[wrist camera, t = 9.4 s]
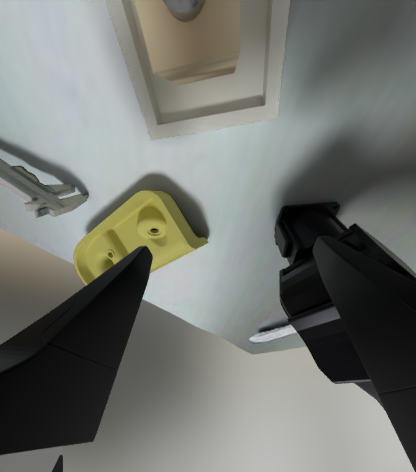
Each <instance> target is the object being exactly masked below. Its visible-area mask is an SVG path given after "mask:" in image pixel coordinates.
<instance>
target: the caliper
mask: <svg viewBox="0 0 416 472" xmlns="http://www.w3.org/2000/svg"><path fill="white" fill-rule="evenodd" d="M0 184H2V185H4V186H5V187H7V188H8V189H10V190H11V191H13V192H14V193H16V194H17V195H19V196H20V197H22V198H23V199H25V200H26V201H28V202H27V203H24V207H25V211H35V213H36V218H38V217H41V216H44V215H47V214H50V215H51V216H53V217H55V216H58V215H61V214H64V213H67V212H70V211H72V210H74V209H75V208H77V207H78V206H80V205H81V204H83V203H84V202H86V201H87V197H88V194H87V193H86V192H85V193H82V194H78V195H74V196H71V197H67V198H63V199H59V198H58V197H61V196H64V195H68V194H70V193H73V192H75V186H74V185H72V184H61V185H43V184H42V183H40V182H39V180H38V179H37V177H36V176H35V175H34V174H32V173H30V172H28V171H27V170H26V169H25V168H24V167H22V166H10V165H9V164H7V163H6V162H4V161H3V160H1V159H0Z"/></svg>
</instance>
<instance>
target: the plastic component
mask: <svg viewBox="0 0 416 472" xmlns="http://www.w3.org/2000/svg"><path fill="white" fill-rule="evenodd" d="M152 228H156V229H158V230H152ZM207 243H208V241H207V240H206V238H204V237H201V238H198V237H197V236H196V235H195V234H194V233H193V231H192V230H191V228H190V226H189V225H188V223H187V221H186V220H185V218H184V216H183V215H182V213H181V211H180V210H179V208H178V206H177V205H176V203H175V201H174V200H173V198H172V197H171V196H170V195H169V194H167V193H165V192H163V191H146V190H143V191H139V192H137V193H136V194H135V195H133V196H132V197H131V198H130V199H129V200H127V201H126V202H125V203H124V204H123V205H121V206H120V207H119V208H118V209H117V210H116V211H114V212H113V213H112V214H111V215H110V216H108V217H107V218H106V219H105V220H104V221H102V222H101V223H100V224H99V225H98V226H97V227H95V228H94V229H93V230H92V231H91V232H89V233H88V234H87V235H86V236H85V237H84V238H83V239H82V240H81V241H80V242H79V243H78V244H77V246H76V248H75V250H74V255H73V259H74V265H75V268H76V271H77V273H78V275H79V276H80V278H81V280H82V281H83V282H84V284H85V285H88V284H89V283H90V282H92V281H93V280H94V279H96V278H97V277H98V276H100V275H101V274H102V273H104V272H105V271H107V270H108V269H109V268H111V267H112V266H113V265H115V264H116V263H117V262H119V261H120V260H121V259H123V258H124V257H125V256H127V255H128V254H130V253H131V252H132V251H134V250H135V249H136V248H138V247H139V246H147V247H148V248H149V250H150V252H151V253H152V255H153V261H152V265H151V270H150V273H151V272H153V271H155V270H157V269H159V268H161V267H163V266H165V265H166V264H168V263H170V262H172V261H174V260H176V259H178V258H180V257H182V256H184V255H186V254H188V253H190V252H192V251H193V250H195V249H197V248H199V247H201V246H203V245H205V244H207Z"/></svg>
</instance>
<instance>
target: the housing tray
mask: <svg viewBox="0 0 416 472" xmlns="http://www.w3.org/2000/svg"><path fill="white" fill-rule="evenodd" d="M106 3H107V6H108V9H109V12H110V15H111V18H112V21H113V25H114V28H115V31H116V34H117V37H118V40H119V43H120V46H121V49H122V52H123V55H124V58H125V61H126V64H127V67H128V70H129V73H130V76H131V79H132V83H133V86H134V89H135V92H136V95H137V98H138V101H139V104H140V107H141V110H142V113H143V116H144V119H145V122H146V125H147V128H148V131H149V134H150V138H151V140H156V139H162V138H168V137H174V136H179V135H185V134H191V133H197V132H203V131H209V130H215V129H221V128H227V127H233V126H239V125H244V124H250V123H256V122H262V121H268V120H274V119H277V114H278V105H279V97H280V88H281V79H282V70H283V61H284V52H285V43H286V35H287V26H288V17H289V8H290V0H240V54H239V58H238V62H237V65H236V69H235V72H234V73H232V74H228V75H223V76H219V77H215V78H210V79H206V80H201V81H197V82H192V83H188V84H184V85H177V84H175V83H173V82H171V81H169V80H167V79H165V78H163V77H161V76H159V75H156V74H154V73H153V70H152V66H151V62H150V59H149V55H148V51H147V47H146V43H145V39H144V36H143V32H142V28H141V24H140V20H139V16H138V13H137V9H136V5H135V1H134V0H106Z"/></svg>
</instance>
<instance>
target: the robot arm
mask: <svg viewBox="0 0 416 472" xmlns="http://www.w3.org/2000/svg"><path fill="white" fill-rule="evenodd" d="M334 206H335V207H334ZM339 208H340V204H338V203H337V202H329V203H317V204H305V205H293V206H284V207H283V208H282V209H281V213H280V219H279V221H278V222H277V224H276V230H275V236H274V237H275V239H276V241H275V243H276V245H278V247H279V250H280V252H281V255H282V257H284V258H287V259H288V262H289V264H290V266H288V267H287V268H285V269H282V270H280V302H281V305H282V307H283V309H284V311H285V313H286V315H287V316H288V317H289V318H288V322H289V323H290V324H291V325H292V326H293V327H294V329H295V330H296V331H297V332H298V334H299V335H300V336H301V338H302V339H303V341H304V342H305V344H306V346H307V347H308V349H309V351H310V353H311V355H312V357H313V359H314V360H315V362H316V364H317V366H318V368H319V369H320V370H321V371H322V372H323V373H324V374H325V375H326V376H327V377H328V378H329V379H330V380H331V381H332V382H333V383H335V384H341V383H355V384H356V385H358V386H359V387H360V388H362V389H363V390H364V391H366V392H367V393H368V394H370V395H371V396H372V397H374V398H375V399H376V400H377V401H378V402H379V403H380V405H381V406H382V407H383V408H384V410H385V411H386V413H387V415H388V417H389V419H390V421H391V423H392V425H393V427H394V429H395V431H396V433H397V435H398V438H399V440H400V442H401V444H402V446H403V448H404V450H405V452H406V454H407V456H408V458H409V460H410V462H411V464H412V466H413V468H414V470H415V472H416V273H415V272H414V271H413V270H412V269H411V268H410V267H409V266H408V265H407V264H406V263H404V262H403V261H402V260H401V259H400V258H399V257H397V256H396V255H395V254H394V253H393V252H391V251H390V250H389V249H388V248H387V247H386V246H384V245H383V244H382V243H381V242H379V241H378V240H377V239H375V238H374V237H373V236H371V235H370V234H369V233H367V232H366V231H365V230H363V229H362V228H361V227H360V226H358V225H357V224H356V223H355V224H353V225H351V226H350V227H349V229H347V228H346V227H345V226H344V225H343V224H342V223H341V222H340V221H339V220H338V219H337V218H336V217H335V216H336V214H337V212H338V210H339ZM286 209H287V211H285V210H286ZM152 261H153V255H152V253H151V252H150V250H149V248H148V247H147V246H139V247H138V248H136V249H135V250H134V251H132V252H131V253H130V254H128V255H127V256H125V257H124V258H123V259H121V260H120V261H119V262H117V263H116V264H115V265H113V266H112V267H111V268H109V269H108V270H107V271H105V272H104V273H102V274H101V275H100V276H98V277H97V278H96V279H94V280H93V281H92V282H90V283H89V284H88V285H86V286H85V287H84V288H83V289H81V290H79V291H78V292H77V293H75V294H74V295H73V296H71V297H70V298H69V299H68V300H66V301H65V302H63V303H62V304H60V305H59V306H58V307H56V308H55V309H53V310H52V311H50V312H49V313H47V314H46V315H44V316H43V317H42V318H40V319H39V320H37V321H36V322H34V323H33V324H31V325H30V326H28V327H27V328H25V329H24V330H22V331H21V332H19V333H18V334H16V335H15V336H13V337H12V338H10V339H9V340H7V341H6V342H4V343H3V344H1V345H0V472H63V456H62V455H60V453H61V451H62V449H63V447H64V446H66V445H74V444H81V443H88V442H92V441H94V438H95V436H96V433H97V431H98V428H99V425H100V422H101V419H102V416H103V412H104V410H105V407H106V404H107V401H108V398H109V395H110V392H111V389H112V386H113V383H114V380H115V377H116V375H117V370H118V368H119V365H120V362H121V359H122V356H123V353H124V351H125V348H126V345H127V342H128V339H129V336H130V333H131V330H132V327H133V324H134V321H135V318H136V315H137V312H138V309H139V306H140V303H141V300H142V298H143V295H144V292H145V289H146V286H147V282H148V279H149V274H150V270H151V265H152Z"/></svg>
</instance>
